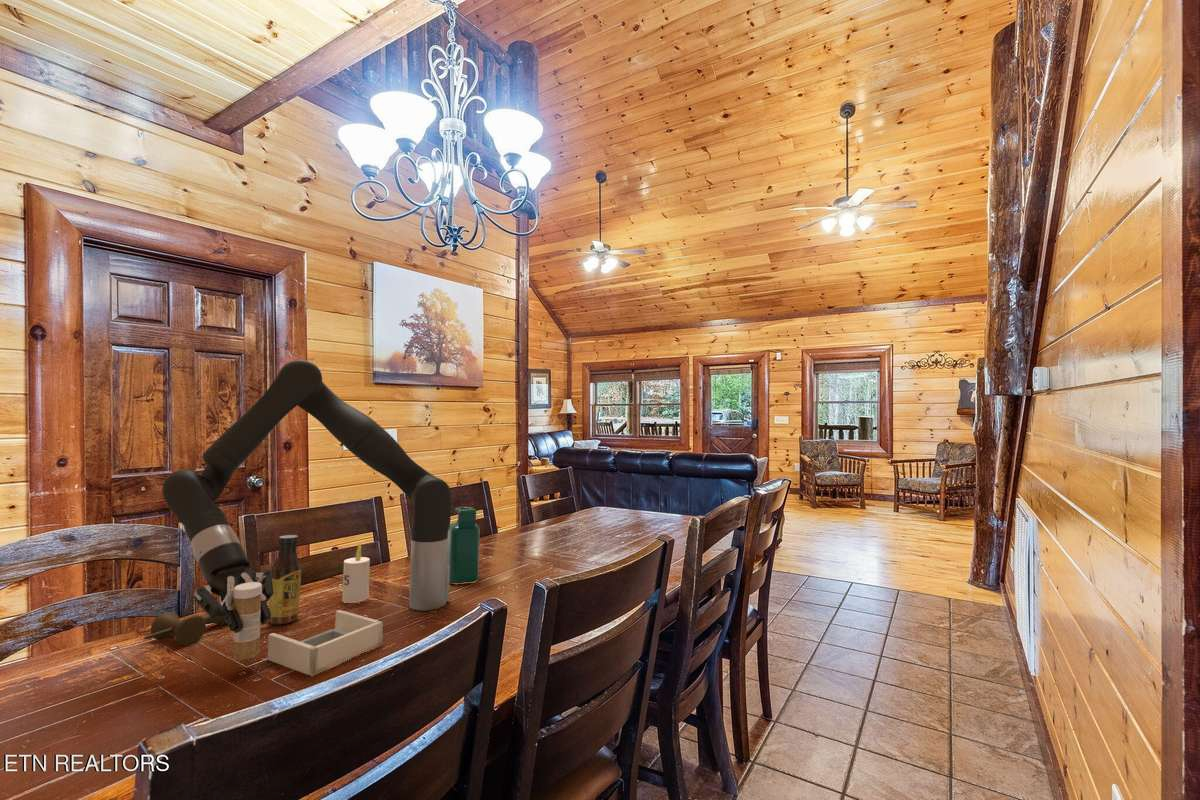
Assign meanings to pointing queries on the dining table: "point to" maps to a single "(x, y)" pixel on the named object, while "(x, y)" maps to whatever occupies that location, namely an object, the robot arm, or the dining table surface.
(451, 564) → the green bottle
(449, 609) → the dining table surface
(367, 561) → the candle
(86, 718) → the dining table surface
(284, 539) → the sauce bottle
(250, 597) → the sprinkles bottle
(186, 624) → the kendama
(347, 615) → the caddy
